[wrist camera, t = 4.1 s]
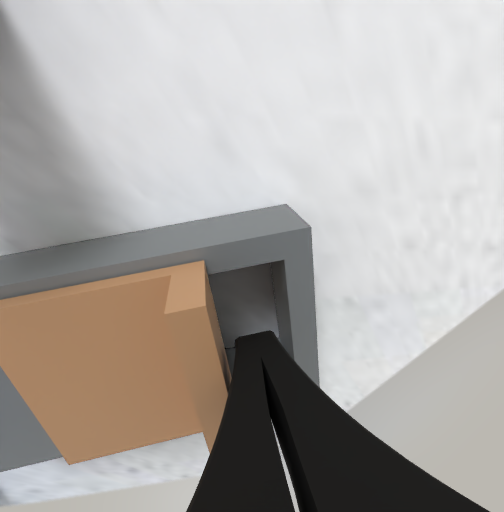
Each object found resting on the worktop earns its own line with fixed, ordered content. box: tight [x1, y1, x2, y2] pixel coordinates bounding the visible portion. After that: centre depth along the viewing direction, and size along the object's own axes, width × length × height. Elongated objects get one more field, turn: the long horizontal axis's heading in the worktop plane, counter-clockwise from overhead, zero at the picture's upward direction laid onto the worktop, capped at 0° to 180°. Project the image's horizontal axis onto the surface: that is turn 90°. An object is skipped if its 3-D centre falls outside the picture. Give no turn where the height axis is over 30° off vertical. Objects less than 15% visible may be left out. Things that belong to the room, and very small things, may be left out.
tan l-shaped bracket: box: [0, 260, 232, 465], centre depth 9 cm, size 7×7×3 cm
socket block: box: [0, 204, 320, 472], centre depth 12 cm, size 15×8×3 cm, turn 98°
